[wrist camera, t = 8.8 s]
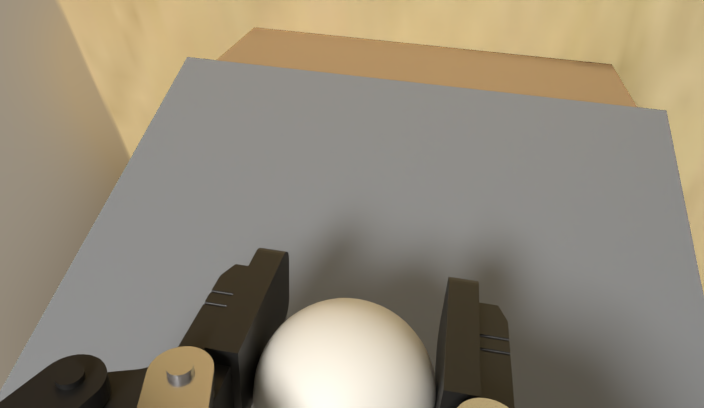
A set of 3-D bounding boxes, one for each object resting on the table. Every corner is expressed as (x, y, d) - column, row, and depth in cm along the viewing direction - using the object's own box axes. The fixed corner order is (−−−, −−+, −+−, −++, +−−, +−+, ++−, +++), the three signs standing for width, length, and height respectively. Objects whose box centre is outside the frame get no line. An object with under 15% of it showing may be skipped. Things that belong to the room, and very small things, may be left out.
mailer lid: (656, 128, 24) (743, -26, 19) (754, 665, 14) (1023, 679, 8) (192, 74, 27) (148, -75, 21) (-32, 491, 16) (-238, 410, 11)
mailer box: (611, 64, 31) (648, 126, 24) (543, 289, 40) (557, 380, 33) (254, 27, 34) (199, 74, 27) (263, 247, 42) (224, 323, 36)
